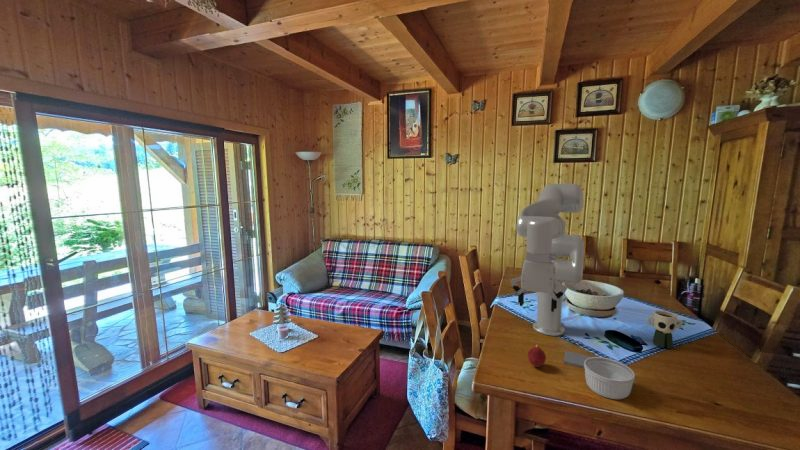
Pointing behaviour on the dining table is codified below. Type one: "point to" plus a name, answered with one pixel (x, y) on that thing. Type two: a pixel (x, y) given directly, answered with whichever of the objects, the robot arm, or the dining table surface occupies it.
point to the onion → (536, 356)
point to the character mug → (664, 327)
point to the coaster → (575, 359)
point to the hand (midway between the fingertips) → (536, 307)
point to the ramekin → (608, 377)
